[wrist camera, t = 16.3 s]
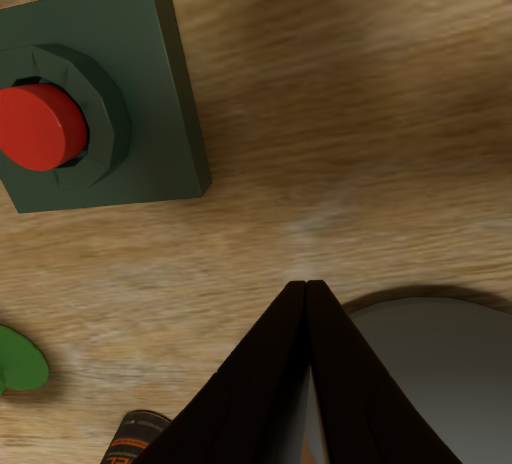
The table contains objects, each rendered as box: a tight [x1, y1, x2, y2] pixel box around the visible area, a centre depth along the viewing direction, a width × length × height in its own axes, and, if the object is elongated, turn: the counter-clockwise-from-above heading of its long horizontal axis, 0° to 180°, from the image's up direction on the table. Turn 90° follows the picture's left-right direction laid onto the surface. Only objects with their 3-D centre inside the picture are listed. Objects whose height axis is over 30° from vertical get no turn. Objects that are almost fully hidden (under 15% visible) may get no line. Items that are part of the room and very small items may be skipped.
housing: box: [0, 0, 212, 214], centre depth 18 cm, size 12×10×4 cm
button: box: [0, 83, 87, 171], centre depth 16 cm, size 4×4×2 cm
